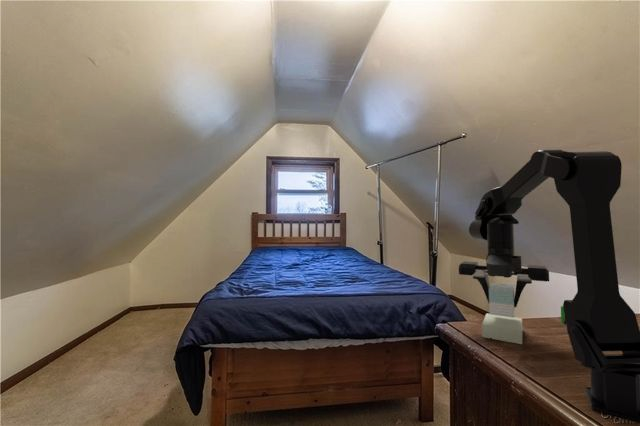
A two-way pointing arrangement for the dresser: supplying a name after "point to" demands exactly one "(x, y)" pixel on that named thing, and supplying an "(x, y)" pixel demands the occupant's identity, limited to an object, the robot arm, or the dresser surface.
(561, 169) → the robot arm
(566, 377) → the dresser surface
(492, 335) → the sage stand
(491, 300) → the grey-blue rectangular block
